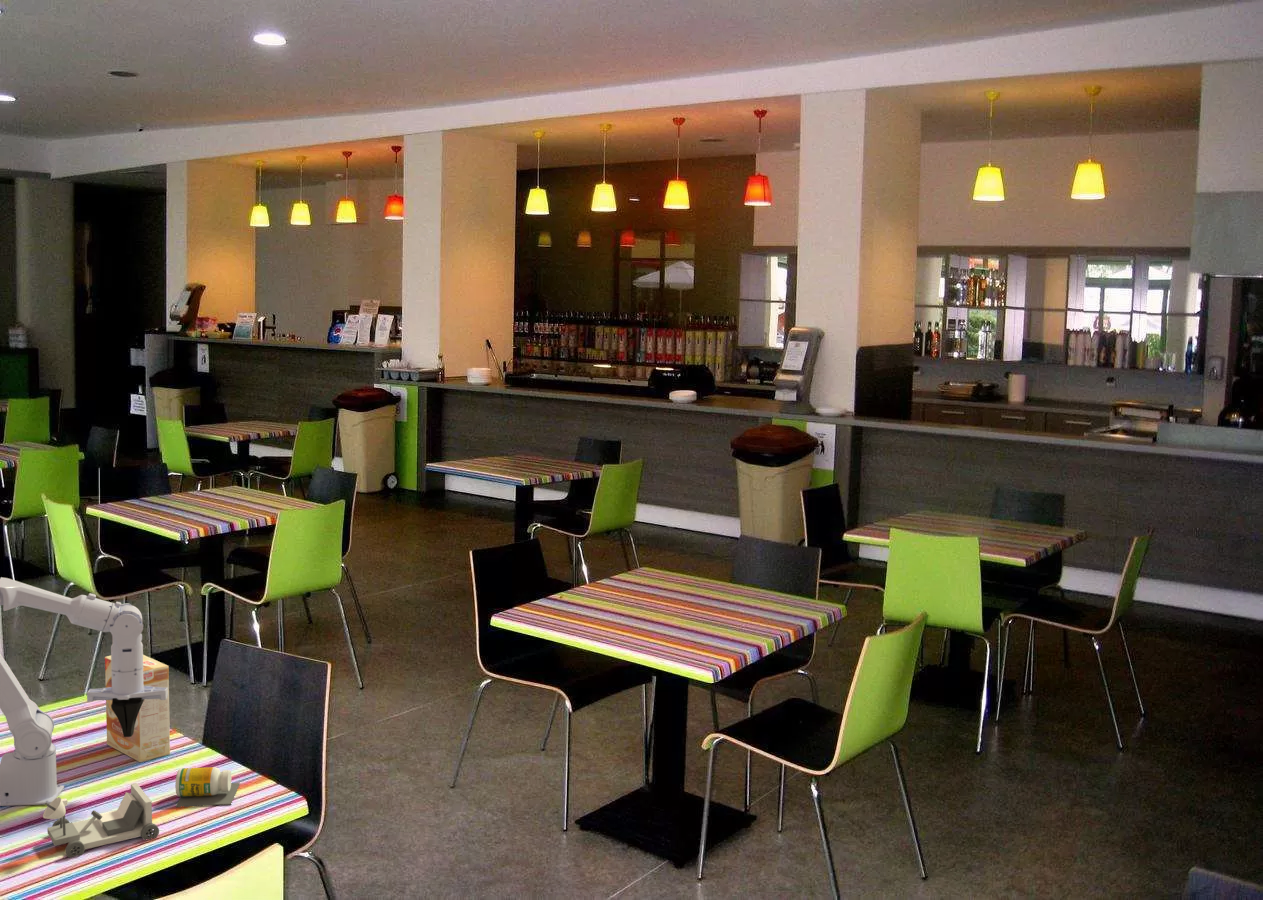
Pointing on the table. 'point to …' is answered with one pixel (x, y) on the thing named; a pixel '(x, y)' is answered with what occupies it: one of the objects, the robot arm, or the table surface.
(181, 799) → the mat
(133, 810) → the toy car
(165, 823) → the table surface
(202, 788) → the supplement bottle
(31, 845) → the table surface
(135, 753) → the coffeecake box
